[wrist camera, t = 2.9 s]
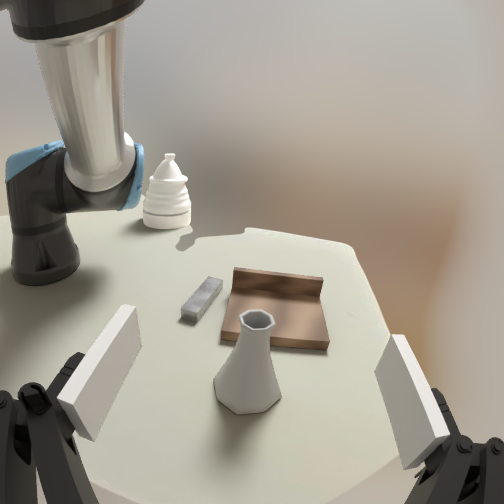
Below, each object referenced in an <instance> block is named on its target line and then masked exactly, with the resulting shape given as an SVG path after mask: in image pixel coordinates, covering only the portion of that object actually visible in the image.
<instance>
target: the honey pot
mask: <svg viewBox="0 0 504 504" xmlns="http://www.w3.org/2000/svg"><path fill="white" fill-rule="evenodd" d="M174 157H175V154H165V160H163V161H162V162H161V163H160V164H159V166H158V167H157V169H156V171H155V173H154V175H153V176H151V177H150V178H149V181H150V185H149V188H148V189H147V194H146V196H145V200H144V201H143V223H144V225H146V226H148V227H151V228H155V229H176V228H181V227H184V226H187V225H188V224H189V223H190V221H191V209H190V208H191V201H190V200H189V195H188V193H187V192H188V190H187V189H186V186H185V183H184V182H186V181H187V180H188V178H187V177H186V176H183V175H182V174H181V172H180V170H179V168H178V166H177V164H176V163H175V162H174V161H173V159H174Z"/></svg>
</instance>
